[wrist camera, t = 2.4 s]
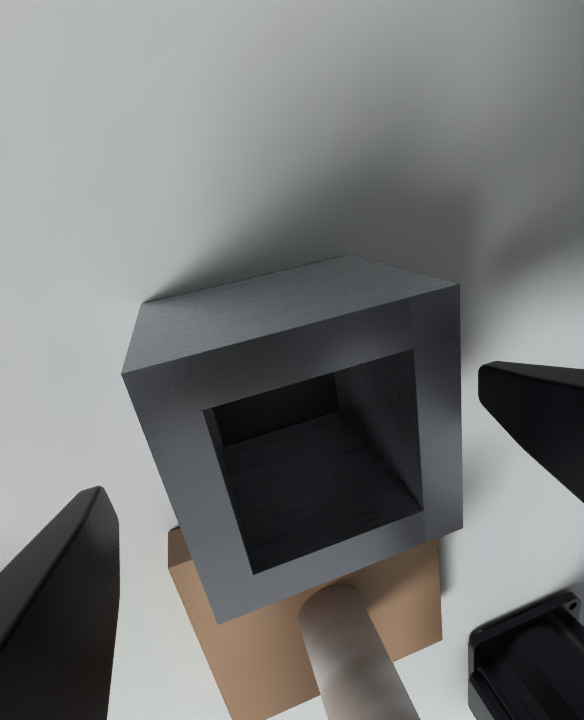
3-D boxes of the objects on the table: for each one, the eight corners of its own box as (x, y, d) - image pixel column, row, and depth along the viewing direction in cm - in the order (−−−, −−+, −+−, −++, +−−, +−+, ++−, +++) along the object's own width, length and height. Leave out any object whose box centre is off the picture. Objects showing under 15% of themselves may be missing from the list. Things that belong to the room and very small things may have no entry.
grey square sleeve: (349, 255, 12) (459, 283, 7) (369, 426, 14) (462, 527, 10) (140, 304, 11) (121, 373, 6) (201, 481, 13) (217, 625, 9)
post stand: (410, 448, 15) (563, 601, 9) (422, 608, 19) (538, 792, 13) (168, 532, 13) (167, 783, 8) (231, 690, 17) (265, 945, 11)
